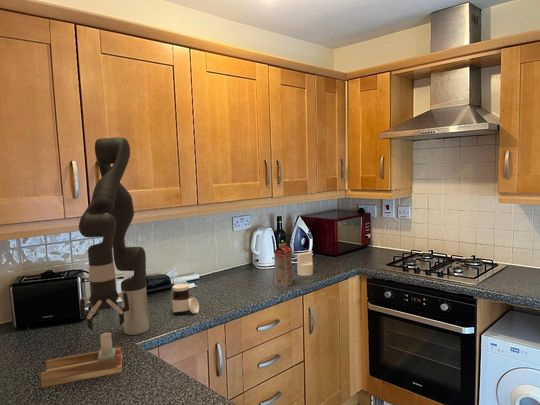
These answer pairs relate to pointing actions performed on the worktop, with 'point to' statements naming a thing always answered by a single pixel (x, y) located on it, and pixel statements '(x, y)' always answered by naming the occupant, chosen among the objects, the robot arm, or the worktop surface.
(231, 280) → the worktop surface
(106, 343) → the slider
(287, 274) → the juice carton
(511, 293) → the worktop surface
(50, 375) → the track
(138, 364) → the worktop surface
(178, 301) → the spread jar
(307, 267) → the cylinder with rectangular tab
